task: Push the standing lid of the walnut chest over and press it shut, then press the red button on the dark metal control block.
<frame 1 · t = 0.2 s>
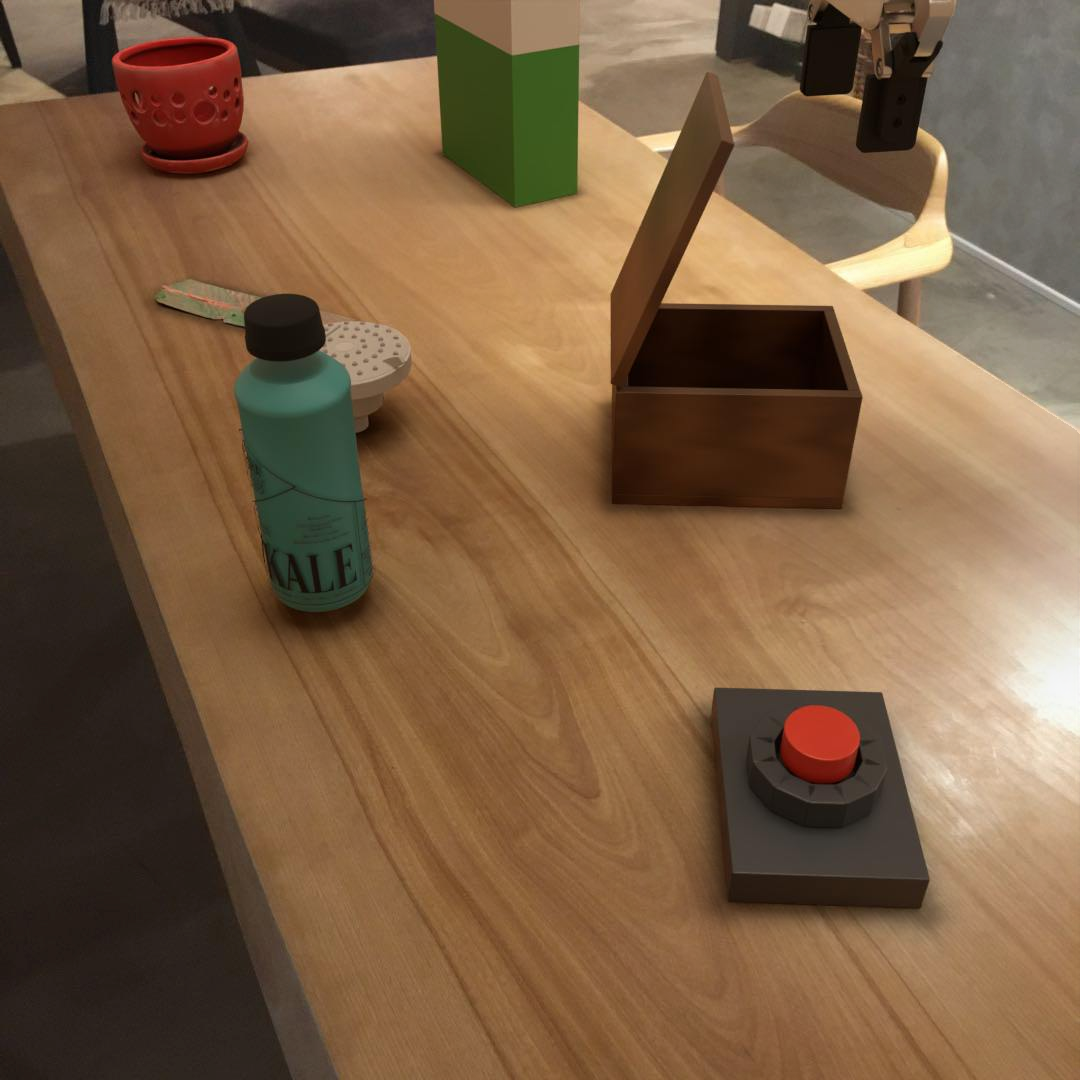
hand: (853, 120, 68), 25 cm above the table, tool pointing down, fingers open, 9 cm apart
map: (254, 316, 103), on the table
showerhead: (357, 428, 89), on the table
button: (819, 744, 57), point 4 cm above the table, slide at 0.1 cm
control block: (807, 804, 60), on the table
chest lid: (664, 229, 75), point 17 cm above the table, hinge at 70.0°
beverage bottle: (326, 601, 73), on the table
chest: (719, 454, 85), on the table
plant pot: (195, 162, 133), on the table
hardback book: (507, 174, 129), on the table
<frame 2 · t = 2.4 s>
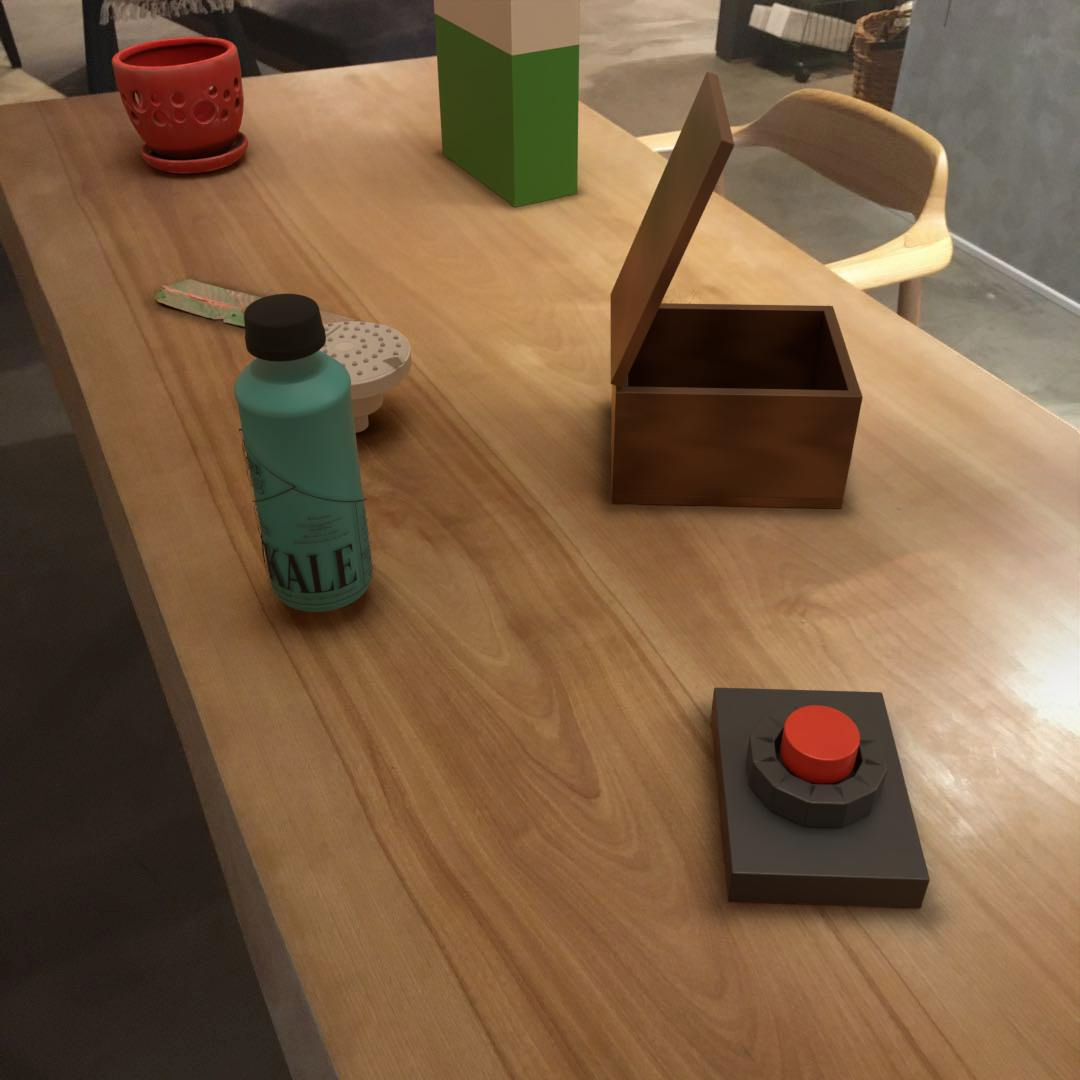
nothing on the table moved.
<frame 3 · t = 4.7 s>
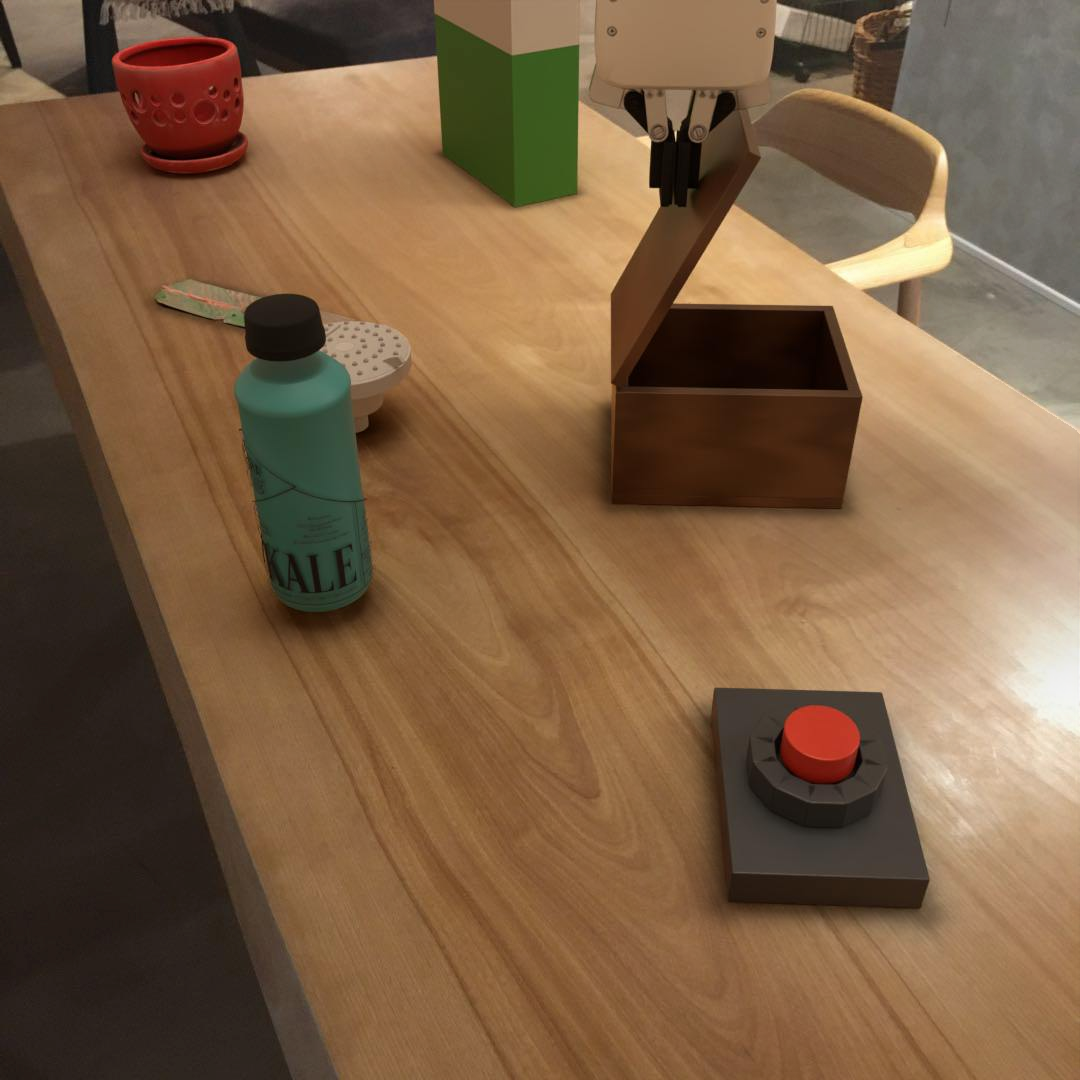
hand: (672, 198, 74), 19 cm above the table, tool pointing down, fingers closed
chest lid: (676, 234, 75), point 17 cm above the table, hinge at 64.1°, touching gripper
everything else where it was.
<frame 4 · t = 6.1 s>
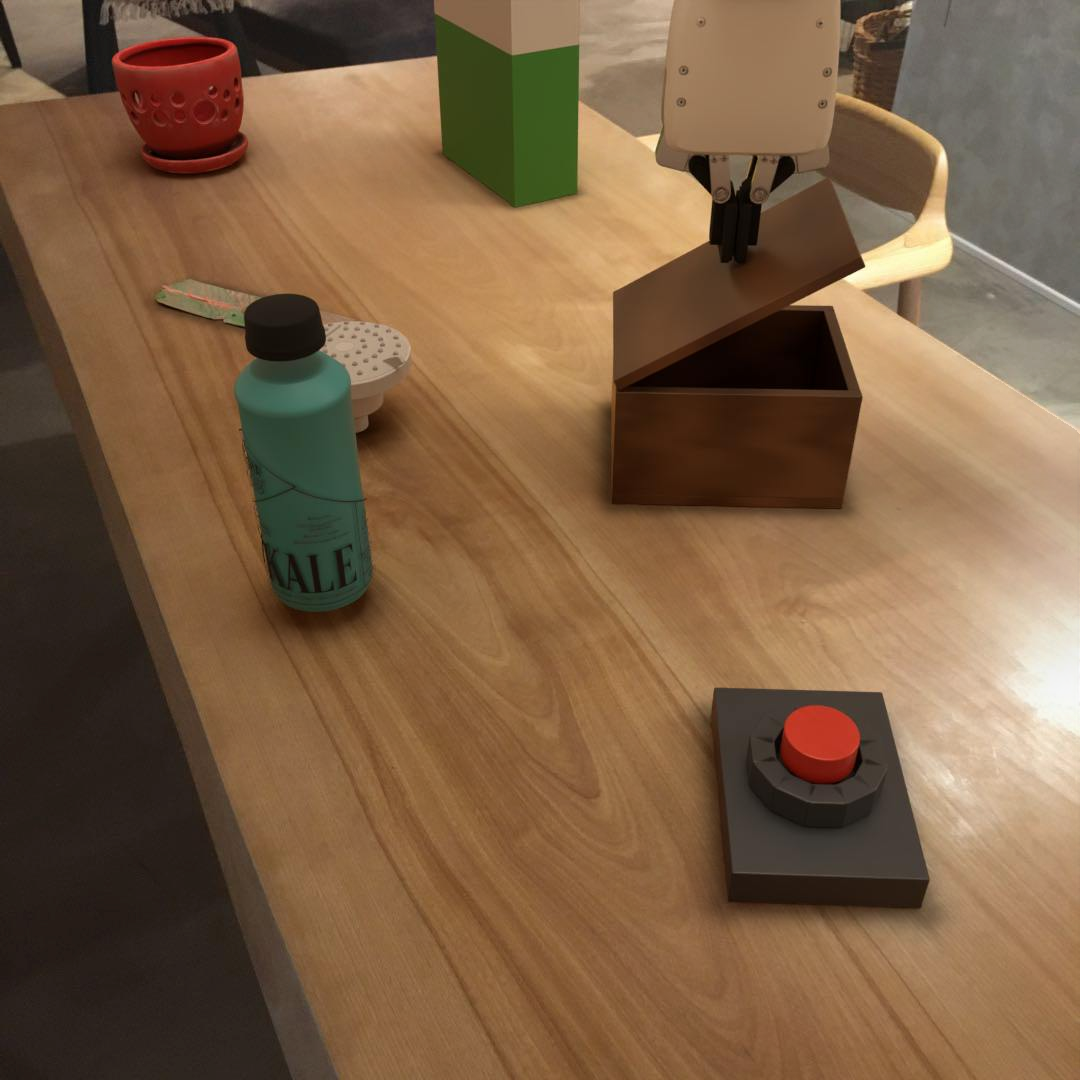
hand: (731, 253, 77), 15 cm above the table, tool pointing down, fingers closed
chest lid: (726, 280, 77), point 14 cm above the table, hinge at 31.4°
everything else where it was.
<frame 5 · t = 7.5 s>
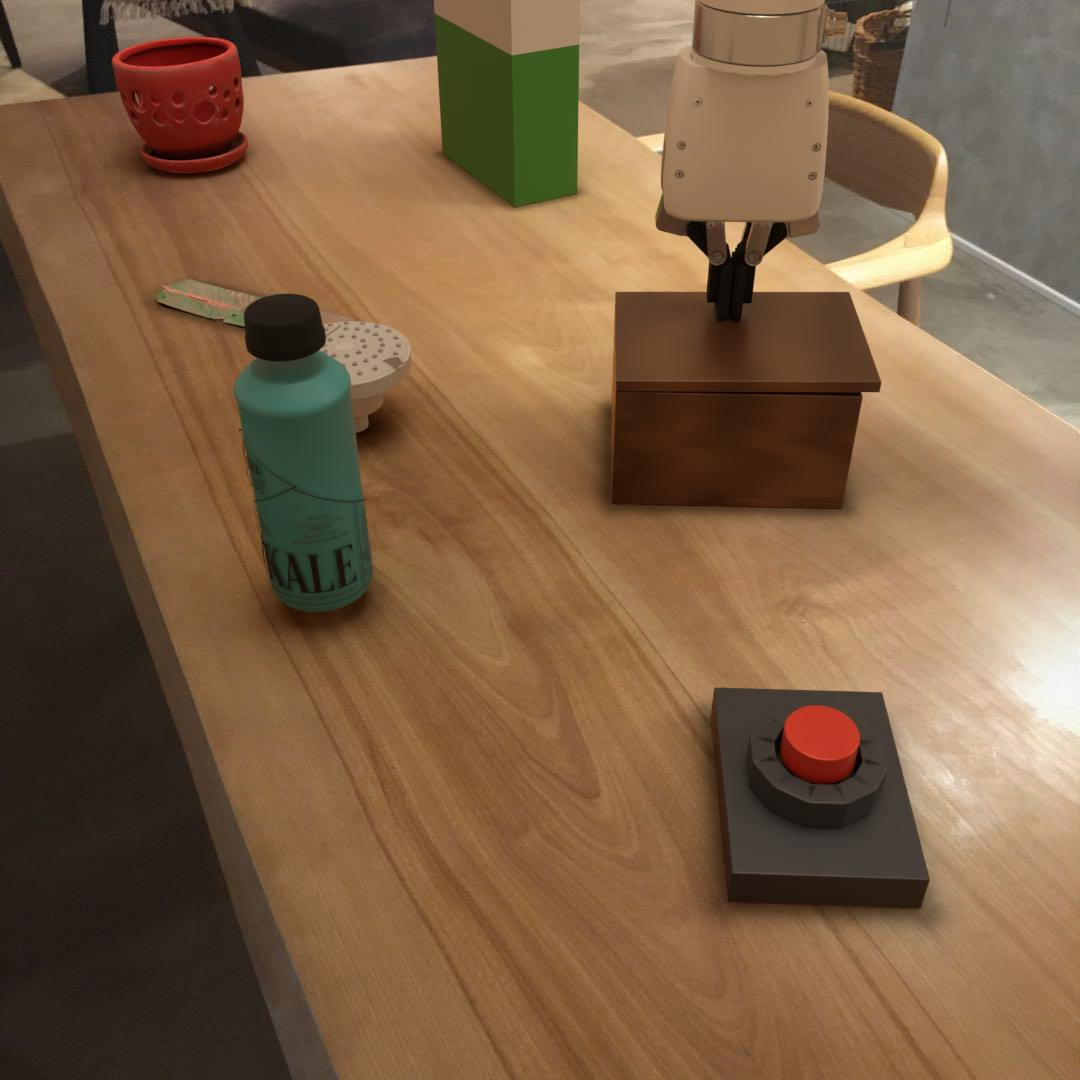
hand: (727, 310, 82), 10 cm above the table, tool pointing down, fingers closed
chest lid: (739, 338, 79), point 9 cm above the table, hinge at 0.9°
everything else where it was.
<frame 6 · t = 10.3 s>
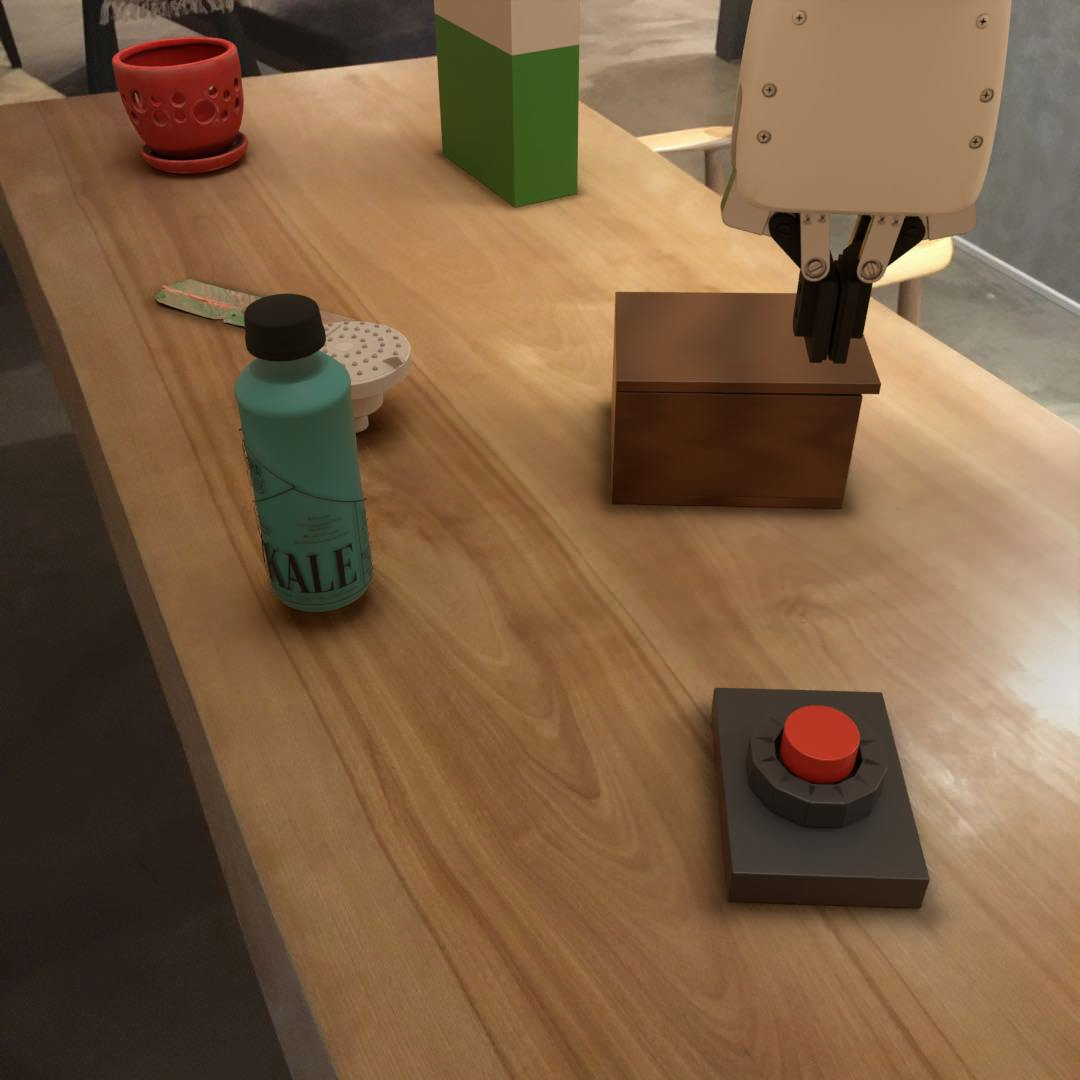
hand: (823, 348, 55), 21 cm above the table, tool pointing down, fingers closed
chest lid: (739, 339, 79), point 9 cm above the table, hinge at 0.4°
everything else where it was.
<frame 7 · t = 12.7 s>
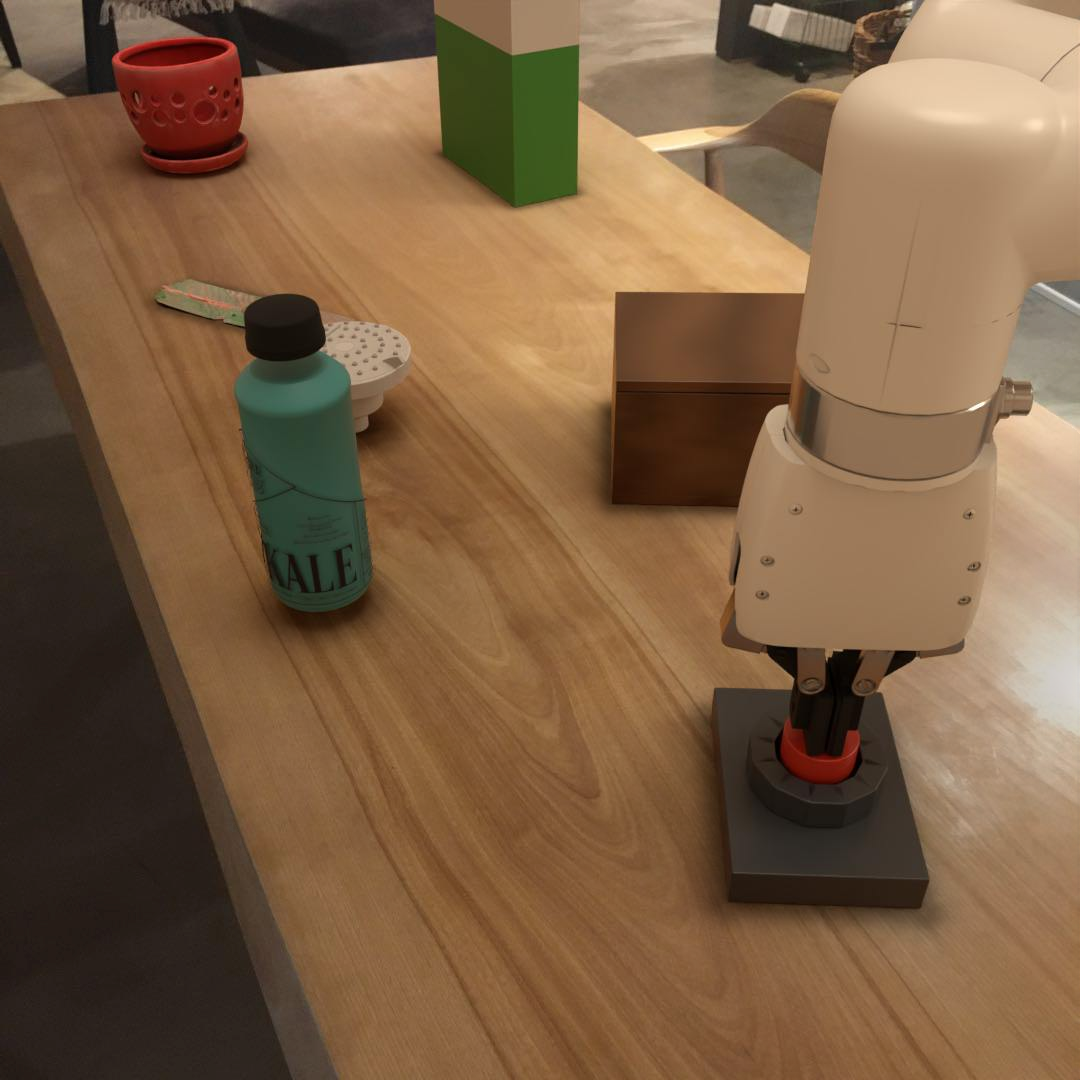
hand: (819, 733, 57), 5 cm above the table, tool pointing down, fingers closed
button: (819, 745, 57), point 4 cm above the table, slide at 0.0 cm, touching gripper
everything else where it was.
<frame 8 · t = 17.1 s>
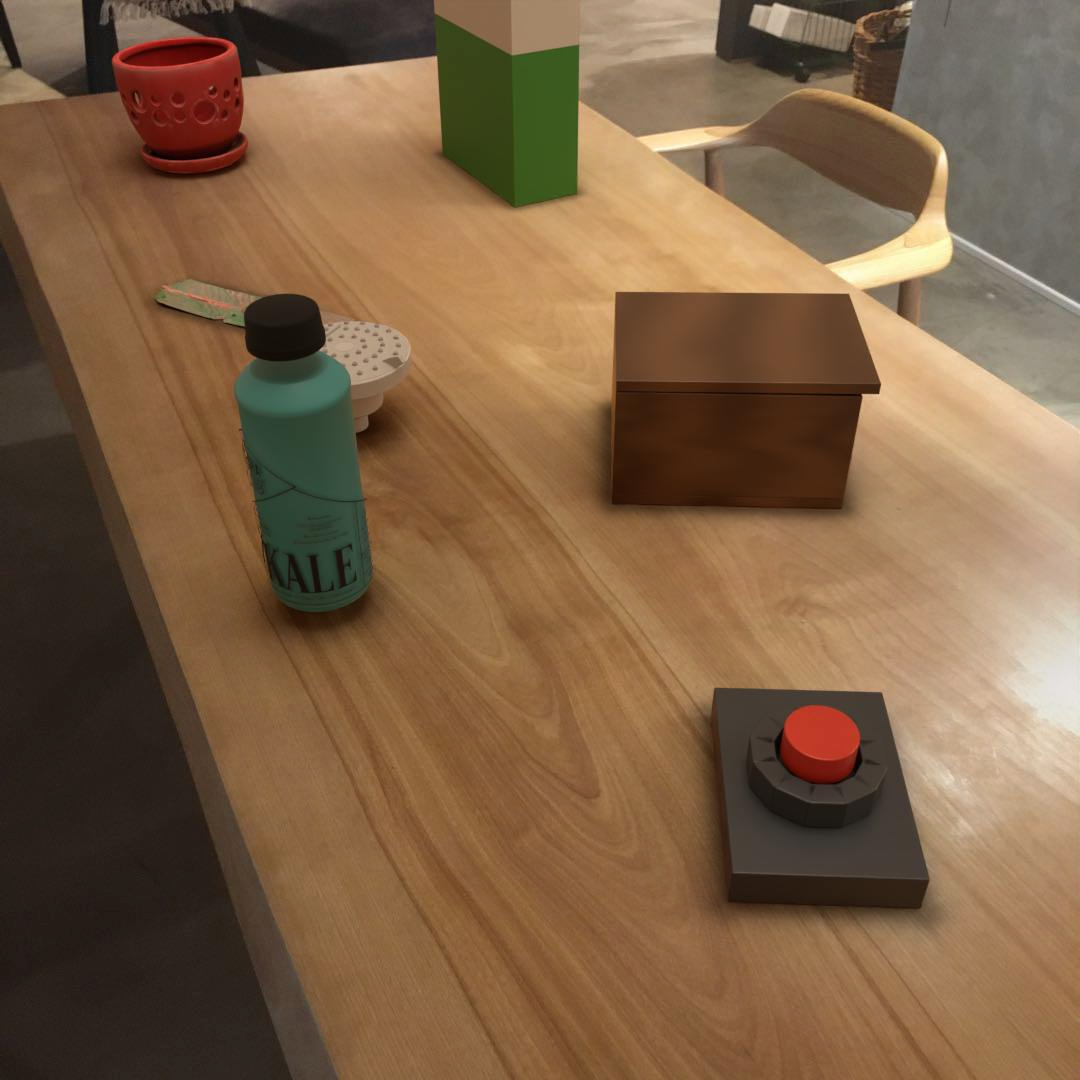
button: (819, 744, 57), point 4 cm above the table, slide at 0.1 cm
everything else where it was.
at the end: chest lid at +0° (first picture: +70°); button pushed in 1.1 cm at the most during the clip, back to where it started at the end; button slide at 0.1 cm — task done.
